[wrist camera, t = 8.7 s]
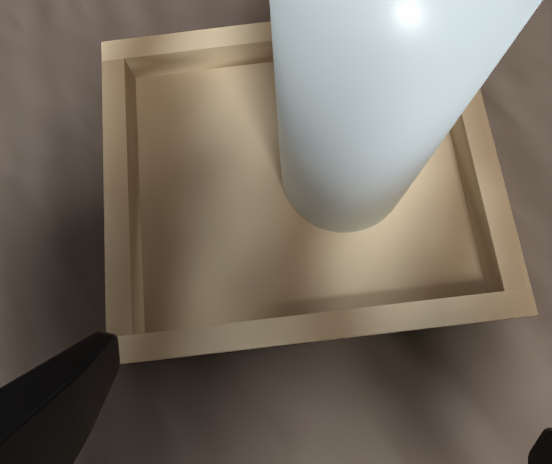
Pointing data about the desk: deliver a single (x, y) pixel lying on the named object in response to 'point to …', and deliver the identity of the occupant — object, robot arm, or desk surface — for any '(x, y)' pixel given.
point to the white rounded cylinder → (376, 94)
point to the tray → (277, 216)
